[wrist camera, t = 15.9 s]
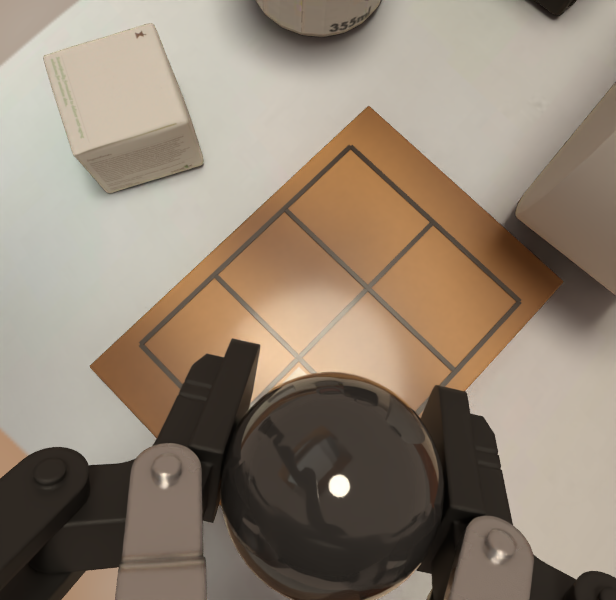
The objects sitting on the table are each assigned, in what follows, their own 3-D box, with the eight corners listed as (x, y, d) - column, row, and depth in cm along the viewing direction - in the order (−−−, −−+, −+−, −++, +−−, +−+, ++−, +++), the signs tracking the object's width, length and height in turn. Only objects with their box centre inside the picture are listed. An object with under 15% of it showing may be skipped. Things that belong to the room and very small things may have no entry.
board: (291, 574, 27) (292, 582, 25) (96, 368, 28) (87, 366, 27) (554, 286, 30) (566, 280, 29) (365, 116, 32) (369, 103, 30)
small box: (77, 107, 31) (38, 51, 26) (176, 77, 32) (156, 18, 27) (105, 198, 30) (70, 158, 25) (207, 166, 31) (192, 120, 26)
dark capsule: (245, 540, 16) (205, 658, 8) (242, 388, 17) (204, 368, 9) (394, 532, 16) (491, 641, 9) (384, 382, 17) (463, 357, 10)
